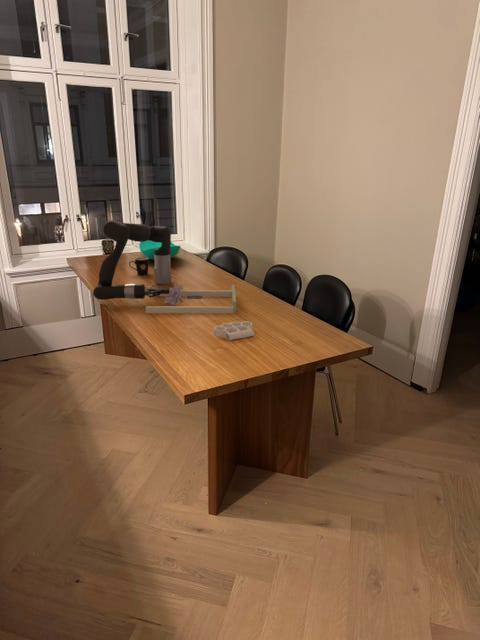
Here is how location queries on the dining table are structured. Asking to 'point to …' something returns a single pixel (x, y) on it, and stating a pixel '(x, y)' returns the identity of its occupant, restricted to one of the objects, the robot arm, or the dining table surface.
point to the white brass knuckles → (234, 330)
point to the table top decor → (150, 246)
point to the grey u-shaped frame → (198, 308)
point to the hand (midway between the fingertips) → (169, 291)
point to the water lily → (174, 295)
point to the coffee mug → (141, 265)
